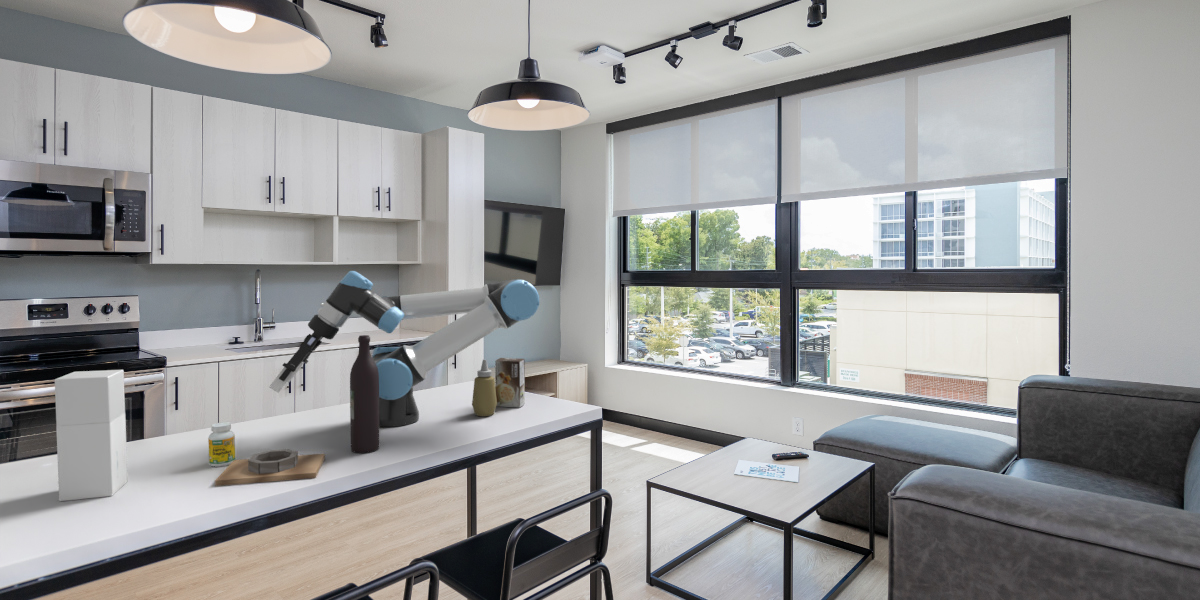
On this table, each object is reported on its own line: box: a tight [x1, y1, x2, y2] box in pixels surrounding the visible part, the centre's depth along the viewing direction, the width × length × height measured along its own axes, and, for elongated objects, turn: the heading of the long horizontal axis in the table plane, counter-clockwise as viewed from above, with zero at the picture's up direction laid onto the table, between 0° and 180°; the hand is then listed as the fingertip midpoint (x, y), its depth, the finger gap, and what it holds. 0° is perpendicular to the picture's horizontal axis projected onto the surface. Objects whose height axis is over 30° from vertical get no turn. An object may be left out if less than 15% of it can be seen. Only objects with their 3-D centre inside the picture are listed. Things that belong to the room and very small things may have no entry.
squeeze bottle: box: [471, 358, 497, 417], centre depth 193 cm, size 8×8×18 cm
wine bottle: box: [349, 334, 380, 454], centre depth 155 cm, size 7×7×30 cm
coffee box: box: [494, 357, 526, 408], centre depth 207 cm, size 9×6×16 cm
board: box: [214, 448, 326, 487], centre depth 139 cm, size 20×14×4 cm
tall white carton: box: [54, 369, 128, 502], centre depth 125 cm, size 9×9×25 cm
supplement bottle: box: [207, 421, 236, 468], centre depth 144 cm, size 5×5×10 cm
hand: (279, 384), depth 163 cm, fingers open, 13 cm apart
